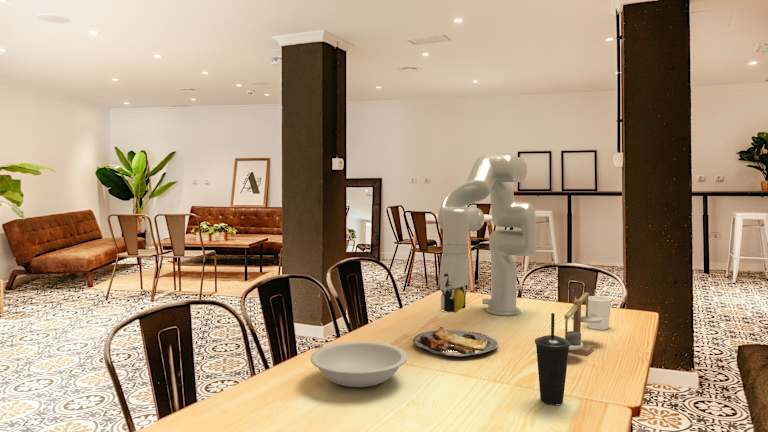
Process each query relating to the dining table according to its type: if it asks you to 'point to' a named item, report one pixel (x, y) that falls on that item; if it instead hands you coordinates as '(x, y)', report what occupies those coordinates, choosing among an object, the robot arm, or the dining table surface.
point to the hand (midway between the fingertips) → (454, 309)
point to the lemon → (458, 299)
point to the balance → (579, 326)
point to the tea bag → (443, 300)
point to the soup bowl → (358, 362)
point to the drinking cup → (552, 366)
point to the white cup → (599, 311)
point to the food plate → (455, 342)
